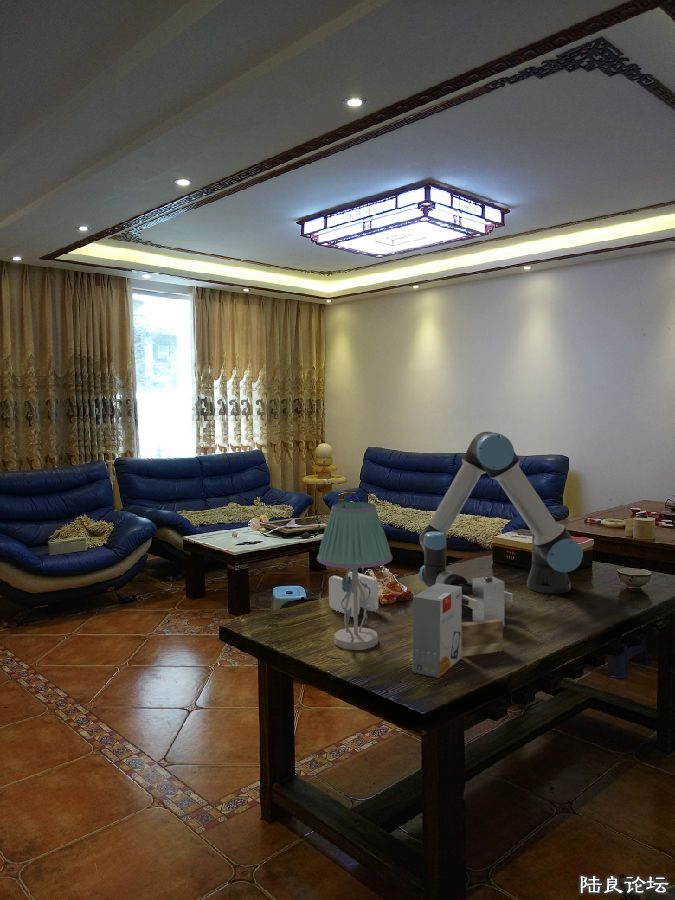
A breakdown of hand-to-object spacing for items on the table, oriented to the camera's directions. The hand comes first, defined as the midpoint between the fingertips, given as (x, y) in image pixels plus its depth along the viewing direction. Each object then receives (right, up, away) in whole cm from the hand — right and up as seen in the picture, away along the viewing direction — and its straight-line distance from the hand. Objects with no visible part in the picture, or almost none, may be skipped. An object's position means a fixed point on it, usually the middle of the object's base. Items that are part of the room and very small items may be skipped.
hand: (494, 601), depth 199 cm
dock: (-10, -9, -11) cm, 18 cm away
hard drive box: (-21, -11, -27) cm, 36 cm away
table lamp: (-42, -10, -9) cm, 44 cm away
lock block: (-1, -8, +3) cm, 9 cm away
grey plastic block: (-42, -8, +19) cm, 47 cm away
